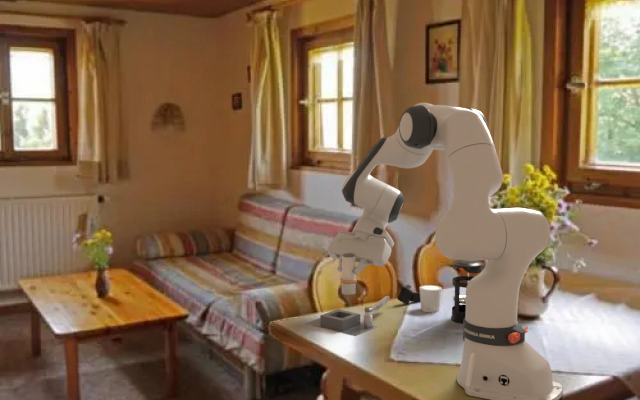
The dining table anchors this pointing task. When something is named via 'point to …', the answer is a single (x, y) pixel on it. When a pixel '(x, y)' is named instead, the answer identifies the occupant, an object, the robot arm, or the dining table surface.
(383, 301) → the ball-tipped lever
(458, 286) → the french press
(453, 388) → the dining table surface
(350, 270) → the plug
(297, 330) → the dining table surface
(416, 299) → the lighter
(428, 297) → the white cup
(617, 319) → the dining table surface
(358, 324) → the socket block
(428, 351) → the dining table surface
